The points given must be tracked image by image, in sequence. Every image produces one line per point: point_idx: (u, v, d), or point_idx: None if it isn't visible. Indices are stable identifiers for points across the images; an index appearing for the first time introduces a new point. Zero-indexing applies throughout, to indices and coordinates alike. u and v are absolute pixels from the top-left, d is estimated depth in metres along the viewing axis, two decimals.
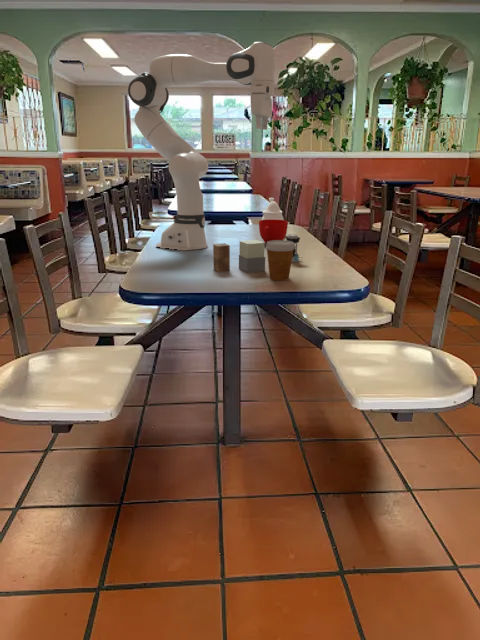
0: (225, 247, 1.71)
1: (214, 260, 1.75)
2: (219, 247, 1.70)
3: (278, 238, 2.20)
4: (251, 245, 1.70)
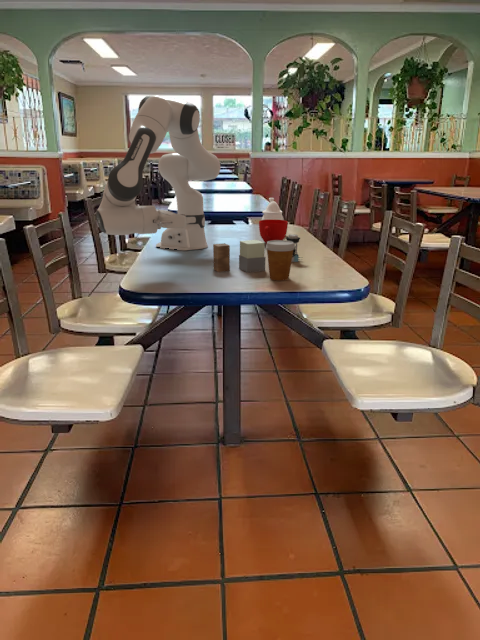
0: (225, 247, 1.71)
1: (214, 260, 1.75)
2: (219, 247, 1.70)
3: (278, 238, 2.20)
4: (251, 245, 1.70)
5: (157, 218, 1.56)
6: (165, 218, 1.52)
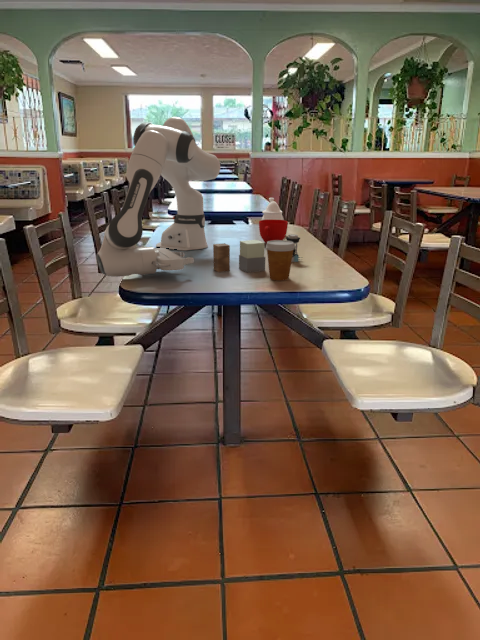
0: (225, 247, 1.71)
1: (214, 260, 1.75)
2: (219, 247, 1.70)
3: (278, 238, 2.20)
4: (251, 245, 1.70)
5: (156, 260, 1.60)
6: (163, 261, 1.56)
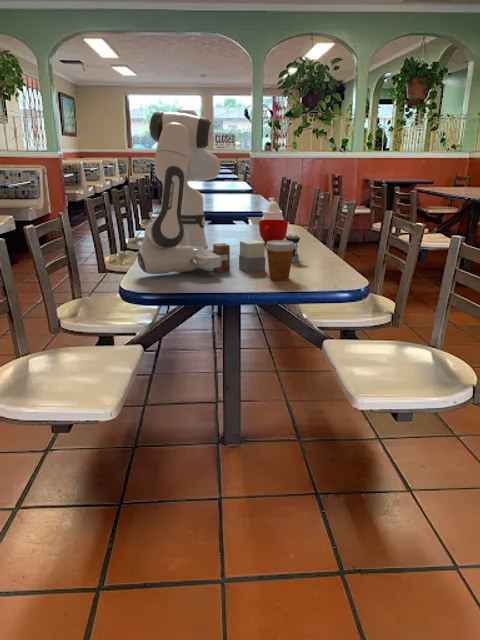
0: (225, 247, 1.71)
1: None
2: (219, 247, 1.70)
3: (278, 238, 2.20)
4: (251, 245, 1.70)
5: (194, 258, 1.65)
6: (202, 259, 1.62)
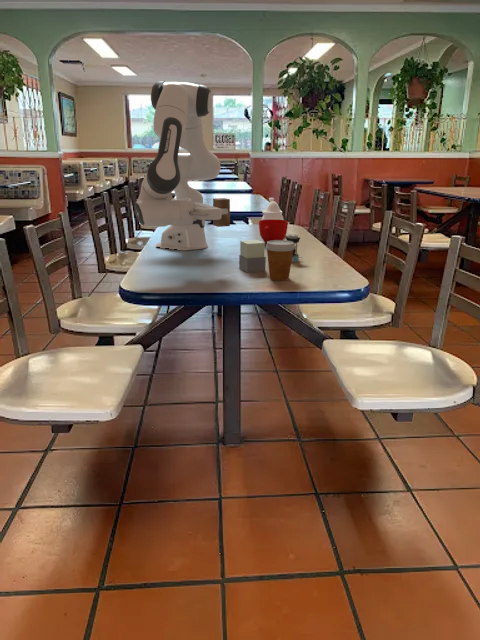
0: (225, 201, 1.66)
1: None
2: (219, 200, 1.65)
3: (278, 238, 2.20)
4: (251, 245, 1.70)
5: (193, 210, 1.60)
6: (201, 210, 1.57)
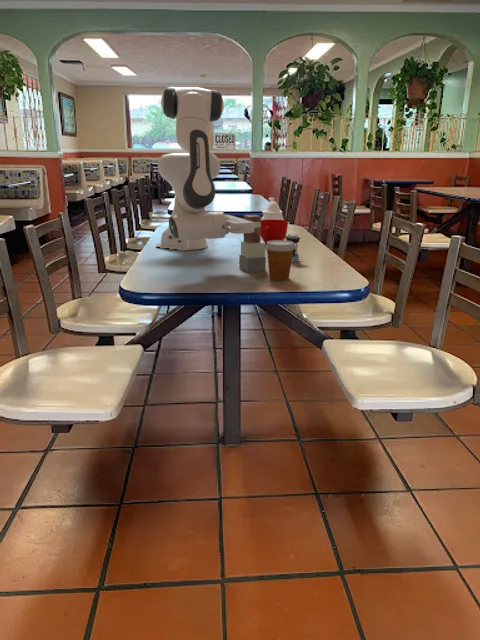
0: (256, 218, 1.69)
1: None
2: (250, 218, 1.68)
3: (278, 238, 2.20)
4: (251, 245, 1.70)
5: (226, 224, 1.63)
6: (235, 224, 1.59)
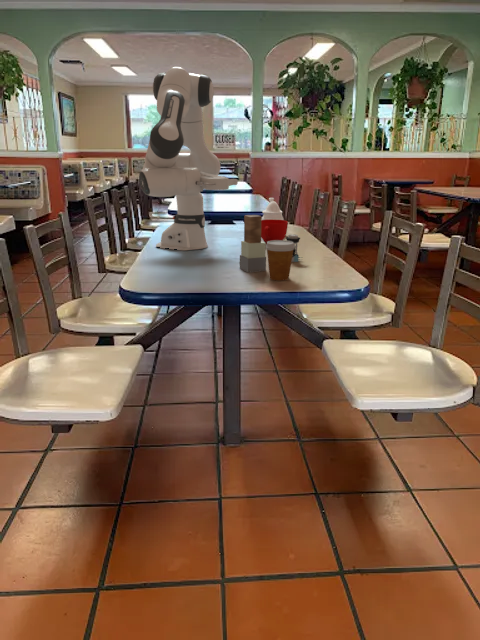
0: (257, 218, 1.69)
1: (245, 232, 1.73)
2: (251, 218, 1.68)
3: (278, 238, 2.20)
4: (252, 245, 1.70)
5: (200, 180, 1.56)
6: (208, 180, 1.52)
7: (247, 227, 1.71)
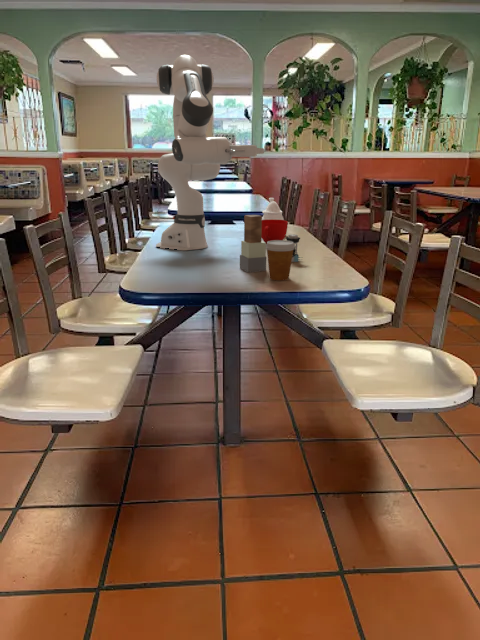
0: (257, 218, 1.69)
1: (245, 232, 1.73)
2: (252, 217, 1.68)
3: (278, 238, 2.20)
4: (252, 245, 1.70)
5: (229, 148, 1.65)
6: (238, 146, 1.61)
7: (247, 227, 1.71)
